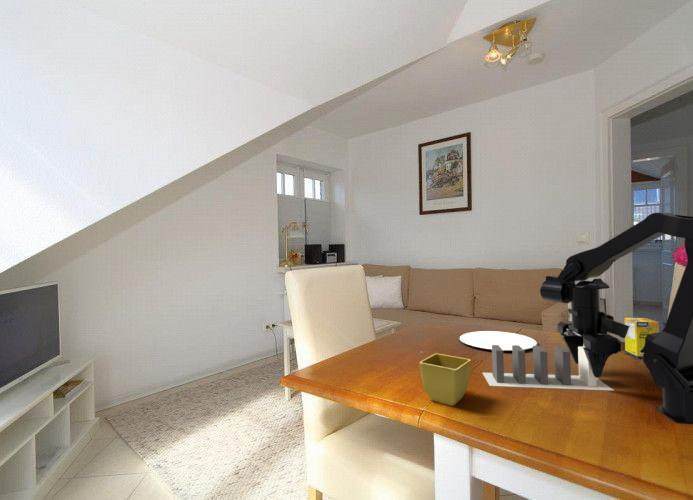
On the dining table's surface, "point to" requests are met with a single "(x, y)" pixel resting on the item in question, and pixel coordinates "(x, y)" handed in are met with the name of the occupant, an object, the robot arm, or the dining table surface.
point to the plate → (497, 340)
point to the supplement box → (638, 334)
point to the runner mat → (552, 383)
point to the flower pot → (445, 377)
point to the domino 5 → (585, 369)
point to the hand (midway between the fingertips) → (587, 370)
